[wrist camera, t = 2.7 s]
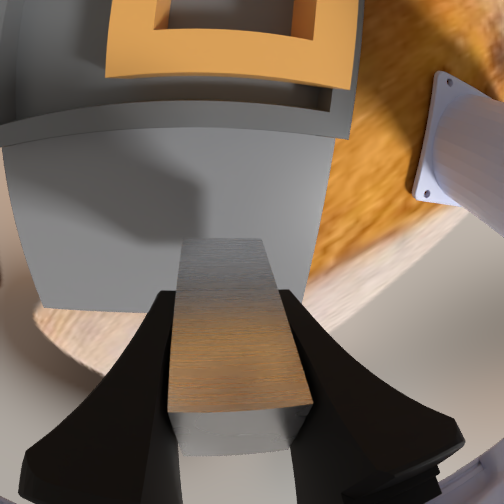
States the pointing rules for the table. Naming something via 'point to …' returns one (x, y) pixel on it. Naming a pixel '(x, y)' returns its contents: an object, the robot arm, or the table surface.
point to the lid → (160, 207)
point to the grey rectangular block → (232, 353)
